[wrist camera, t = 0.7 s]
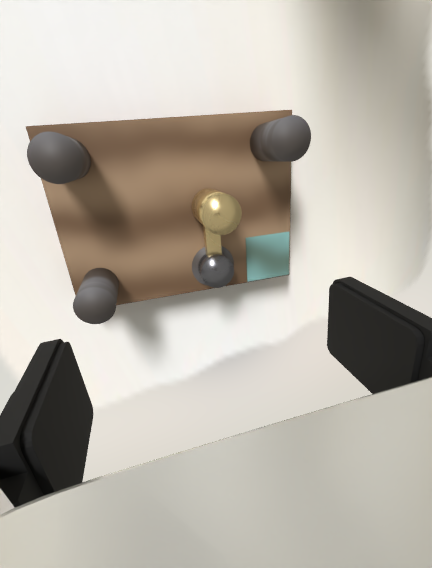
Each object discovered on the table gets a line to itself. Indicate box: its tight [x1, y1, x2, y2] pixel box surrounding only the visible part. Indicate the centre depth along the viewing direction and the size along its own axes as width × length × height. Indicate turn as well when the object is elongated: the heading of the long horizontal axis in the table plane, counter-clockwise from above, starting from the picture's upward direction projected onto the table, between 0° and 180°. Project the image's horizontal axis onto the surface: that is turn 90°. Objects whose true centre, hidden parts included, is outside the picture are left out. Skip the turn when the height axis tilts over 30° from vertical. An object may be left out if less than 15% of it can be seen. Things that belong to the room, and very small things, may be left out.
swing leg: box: [191, 188, 242, 288], centre depth 27 cm, size 9×3×5 cm, turn 5°
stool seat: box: [26, 110, 311, 324], centre depth 27 cm, size 16×22×8 cm
